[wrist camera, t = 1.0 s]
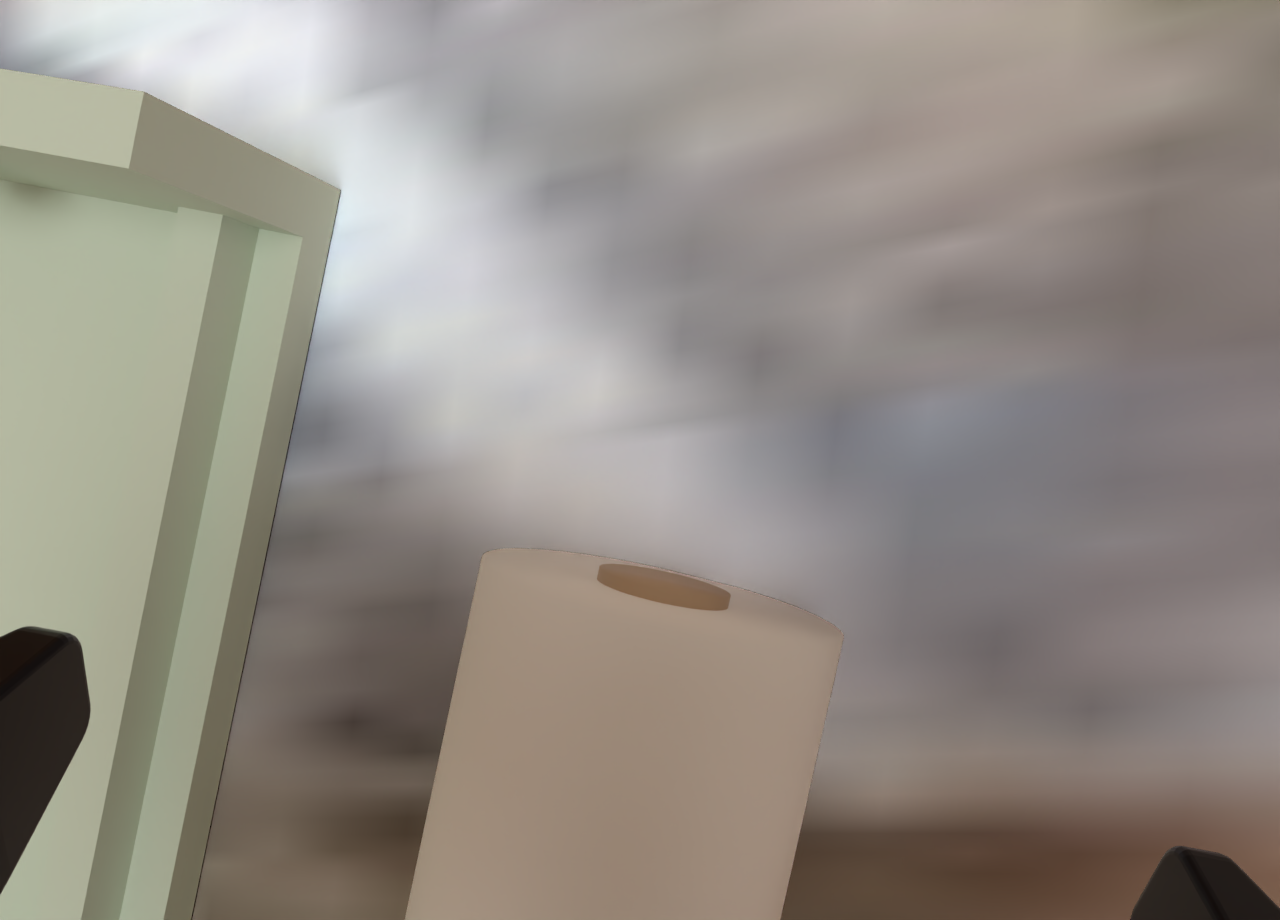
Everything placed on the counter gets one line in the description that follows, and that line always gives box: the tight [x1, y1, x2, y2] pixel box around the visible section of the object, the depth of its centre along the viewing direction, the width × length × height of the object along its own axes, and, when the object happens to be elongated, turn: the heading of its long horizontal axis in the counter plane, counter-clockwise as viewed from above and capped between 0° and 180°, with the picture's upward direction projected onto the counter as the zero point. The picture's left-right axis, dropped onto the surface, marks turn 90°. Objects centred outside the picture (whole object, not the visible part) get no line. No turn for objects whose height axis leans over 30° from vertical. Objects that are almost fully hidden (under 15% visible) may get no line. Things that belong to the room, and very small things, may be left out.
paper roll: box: [405, 548, 844, 920], centre depth 18 cm, size 11×6×6 cm, turn 167°
